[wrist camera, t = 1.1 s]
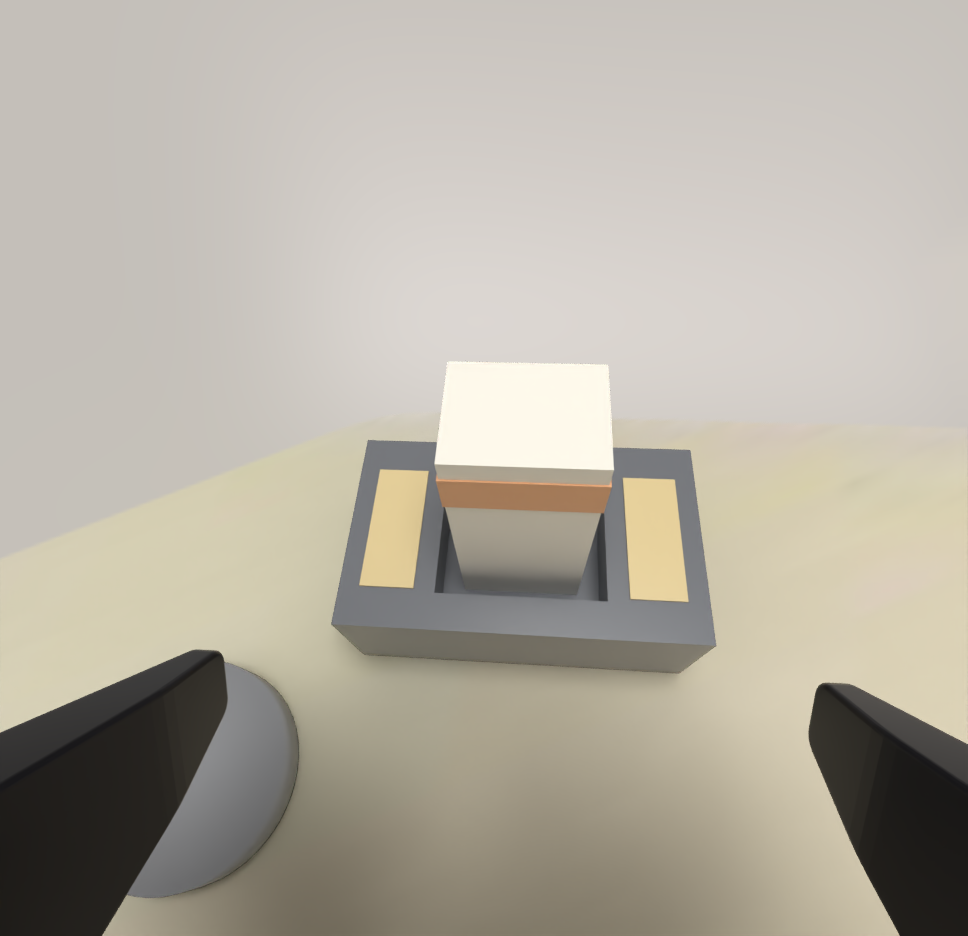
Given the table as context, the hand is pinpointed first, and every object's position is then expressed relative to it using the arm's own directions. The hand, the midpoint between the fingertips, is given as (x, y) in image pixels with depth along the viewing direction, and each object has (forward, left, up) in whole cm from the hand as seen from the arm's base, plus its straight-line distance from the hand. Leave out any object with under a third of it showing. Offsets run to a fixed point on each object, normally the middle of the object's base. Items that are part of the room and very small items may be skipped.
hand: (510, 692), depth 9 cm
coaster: (-6, +9, -13) cm, 17 cm away
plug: (+6, +3, -11) cm, 13 cm away
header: (+6, +3, -13) cm, 15 cm away
